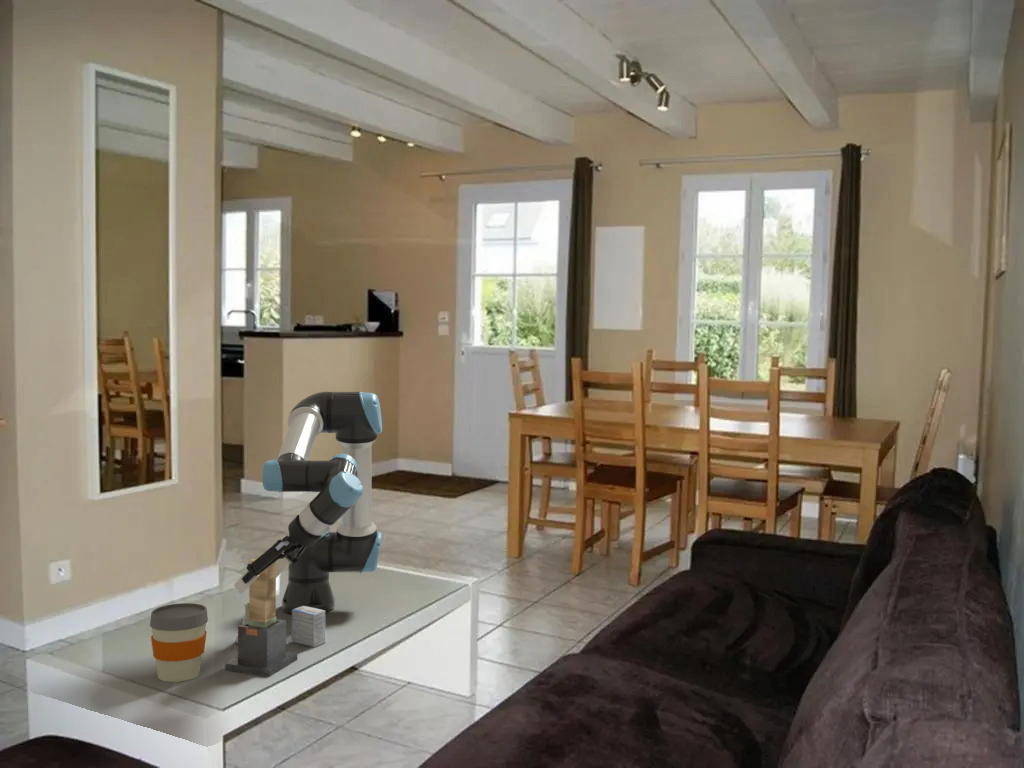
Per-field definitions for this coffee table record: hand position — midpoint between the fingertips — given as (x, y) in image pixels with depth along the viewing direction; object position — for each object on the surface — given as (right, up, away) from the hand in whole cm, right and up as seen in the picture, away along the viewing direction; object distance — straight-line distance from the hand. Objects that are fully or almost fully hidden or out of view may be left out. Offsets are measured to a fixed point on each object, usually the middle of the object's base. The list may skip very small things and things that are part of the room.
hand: (254, 582), depth 212 cm
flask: (-6, -19, +16) cm, 26 cm away
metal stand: (+2, -20, 0) cm, 20 cm away
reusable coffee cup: (-15, -20, -7) cm, 26 cm away
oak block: (+2, -12, 0) cm, 12 cm away
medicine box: (+9, -20, +17) cm, 27 cm away
